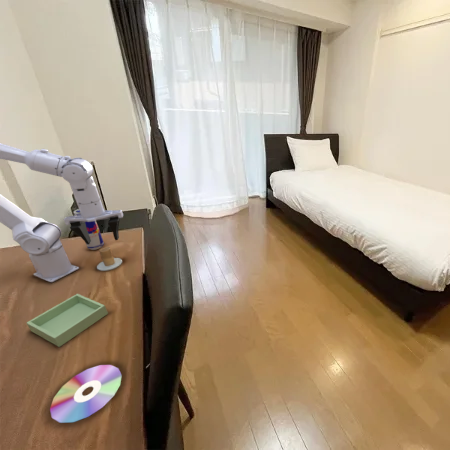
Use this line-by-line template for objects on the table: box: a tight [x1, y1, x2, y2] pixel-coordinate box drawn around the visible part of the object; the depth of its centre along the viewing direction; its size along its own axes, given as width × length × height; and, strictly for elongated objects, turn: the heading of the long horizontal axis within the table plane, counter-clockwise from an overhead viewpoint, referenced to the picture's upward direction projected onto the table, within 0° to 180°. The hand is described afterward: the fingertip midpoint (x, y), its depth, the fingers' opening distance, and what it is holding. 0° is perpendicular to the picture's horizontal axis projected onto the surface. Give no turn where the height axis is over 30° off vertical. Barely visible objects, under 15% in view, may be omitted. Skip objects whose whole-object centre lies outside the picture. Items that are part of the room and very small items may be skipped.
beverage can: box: [73, 208, 105, 251], centre depth 97 cm, size 5×5×15 cm
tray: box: [26, 293, 109, 348], centre depth 67 cm, size 11×11×3 cm
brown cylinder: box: [98, 246, 115, 266], centre depth 88 cm, size 3×3×6 cm
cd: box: [49, 364, 123, 424], centre depth 52 cm, size 11×11×1 cm
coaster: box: [96, 257, 123, 272], centre depth 90 cm, size 7×7×1 cm
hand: (103, 240), depth 86 cm, fingers open, 7 cm apart
